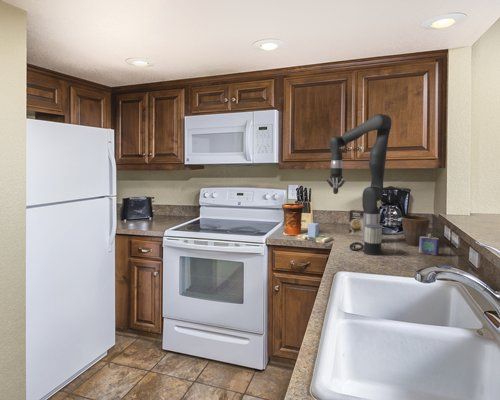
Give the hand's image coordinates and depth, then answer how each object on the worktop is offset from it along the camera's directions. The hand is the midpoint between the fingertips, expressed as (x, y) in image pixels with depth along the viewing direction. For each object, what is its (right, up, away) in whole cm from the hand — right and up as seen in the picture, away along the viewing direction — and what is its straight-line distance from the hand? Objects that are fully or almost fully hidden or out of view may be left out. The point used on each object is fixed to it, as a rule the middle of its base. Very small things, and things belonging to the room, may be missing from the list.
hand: (335, 193), depth 227 cm
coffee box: (+14, -27, +2) cm, 31 cm away
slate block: (-17, -27, -14) cm, 35 cm away
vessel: (-28, -27, +4) cm, 39 cm away
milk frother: (+5, -32, -42) cm, 53 cm away
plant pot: (+39, -30, -26) cm, 56 cm away
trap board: (-16, -29, -12) cm, 35 cm away
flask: (+37, -33, -47) cm, 68 cm away
